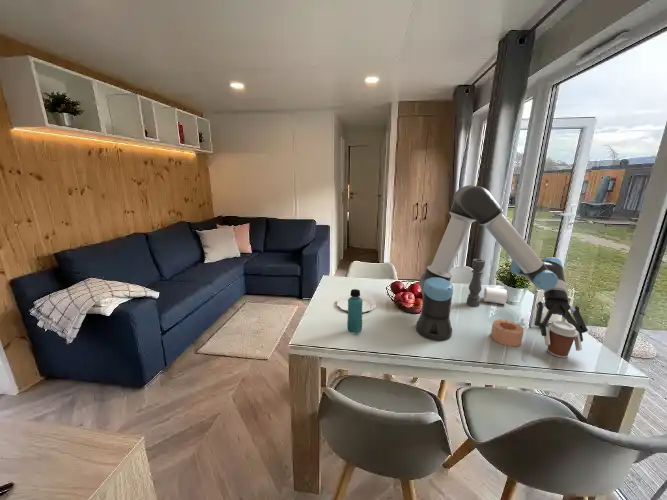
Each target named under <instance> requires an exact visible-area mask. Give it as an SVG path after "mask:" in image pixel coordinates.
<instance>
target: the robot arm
mask: <svg viewBox="0 0 667 500" xmlns="http://www.w3.org/2000/svg"><path fill="white" fill-rule="evenodd" d="M503 212H504V209H503V207H501V205H500V204H499V203H498V201H497V200H496V199H495V197H494V196H493V195H492V193H490V191H489V190H488V189H486V188H485V187H482V186H480V185H472V184H471V185H470V184H469V185H464V186H462V187H460V188H459V189H458V190H457V191H455V192H454V195H453V198H452V205H451V208H450V210H449V215H450V220H449V222H448V223H447V226H446V229H445V232H444V234H443V236H442V239H441V241H440V243H439V246H438V248H437V251H436V253H435V255H434V258H433V260H432V263H431V264H430V265H428V266H426V268H425V271H424V272H423V273H422V274H421V275H420V278H419V288H420V291H421V296H422V301H421V302H422V303H421V313H420V315H419V317H418V320H417V321H416V325H415V330H416V332H417V333H418V335H420V336H422V337H424V338H426V339H429V340H431V341H432V340H433V341H445V340H449V339H450V338H452V335H453V327H452V324H451V317H450V315H451V307H452V299H453V295H454V290H453V289H454V288H453V287H454V286H453V284H452V283H451V282H450V281H451V279H452V274H451V270H452V267H453V265H454V263H455V261H456V260H457V256H458V254H459V251H460V250H461V248H462V244H463V243H464V241H465V237H467V233H468V232H469V229H470V227H471V224H472V223H474V222H477V223H478V225H479V226H483V227H485V229H486V230H487V231H488V232H489V233H490V234H491V236H492V237H493V238H494V239H495V241H496V242H497V243H498V244H499V245H500V246H501V248H502V249H503V250H504V251H505V252H506V253H507V254H508V256H509V257H510V258H511V259H512V260H511V262H510V268H509V271H510V273H511V274H513V275H517V276H522V277H523V278H525V279H526V280H528V281H529V282H530V283H532V285H534V286H535V287H536V288H538V289H541V290H543V295H544V297H543V298H544V302H542V301H539V302H537V303H536V313H535V319H534V325H535V327H538V328H539V329H540V334H541V336H542V337H544V338H543V339H544V345H545V346H546V347H548V345H550V336H549V330H550V329H549V328H548V325H547V324H548V322H549V321H550V319H551V317H552V315H559V316H562V318H563V319H565V321H566V322H567V323H569V324H572V325H573V326H575V328H576V330H577V331H578V333H579V334H578V336H577V337H575V338H574V341H573V342H574V346H575V351H577V352H579V351H581V350H583V347H582V342H584V338H583V337H584V336H583V334H585V333H586V332H588V328H587V326H586V323H585V321H584V319H583V317H582V314H581V312H580V307H579V306H571V305H570V303H569V297H568V293H567V287H566V280H565V274H564V273H565V272H564V267H563V264H562V261H561V260H560V259H559V258H557V257H553V256H551V257H549V256H547V257H544V258H542V259H541V258H540V257H539V256H538V255H537V253H536V252H535V251H534V249H532V248H531V246H530V245H529V244H528V242H526V240H525V239H524V237H522V235H521V234H520V233H519V232H518V231H517V229H515V227H514V226H513V225H512V223H511V222H510V221H509V220H508V218H507V217H506V216H505V215H504V213H503ZM544 308H546V310H547V312H546V314H545V316H544V318H543V320H542V317H543V311H544ZM569 310H570V311H569ZM571 313H572V315H573V317H572V315H571ZM541 321H542V322H541Z"/></svg>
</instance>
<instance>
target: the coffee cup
mask: <svg viewBox="0 0 667 500" xmlns="http://www.w3.org/2000/svg"><path fill="white" fill-rule="evenodd" d="M547 327H548V329H549V336H550V345H548V346H547V349H546V350H547V352H548V353H549V354H551V355H553V356H555V357H557V358H562V359H563V358H567V357H569V354H570V351H571V349H572V345H573V343H574V342H575V341H574V338H575V337H577V336H578V334H579V333H578V331H577V330H576V328H575V326H573V325H572V324H569V323H568V322H567V321H562V320H554V321H553V320H552V321H551V323H549V324H548V325H547Z"/></svg>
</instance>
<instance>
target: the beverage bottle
mask: <svg viewBox="0 0 667 500" xmlns="http://www.w3.org/2000/svg"><path fill="white" fill-rule="evenodd" d="M350 295H351V296H352V297H350V298H349V299H348V301H347V310H348V311H347V325H346V326H347V331H348V332H349V333H352V334H359V333H361V332H362V330H363V312H362V311H363V300H362V299H361V298H360V297H359V296H361V291H360V289H356V288H355V289H351V290H350ZM350 295H349V296H350Z"/></svg>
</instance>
